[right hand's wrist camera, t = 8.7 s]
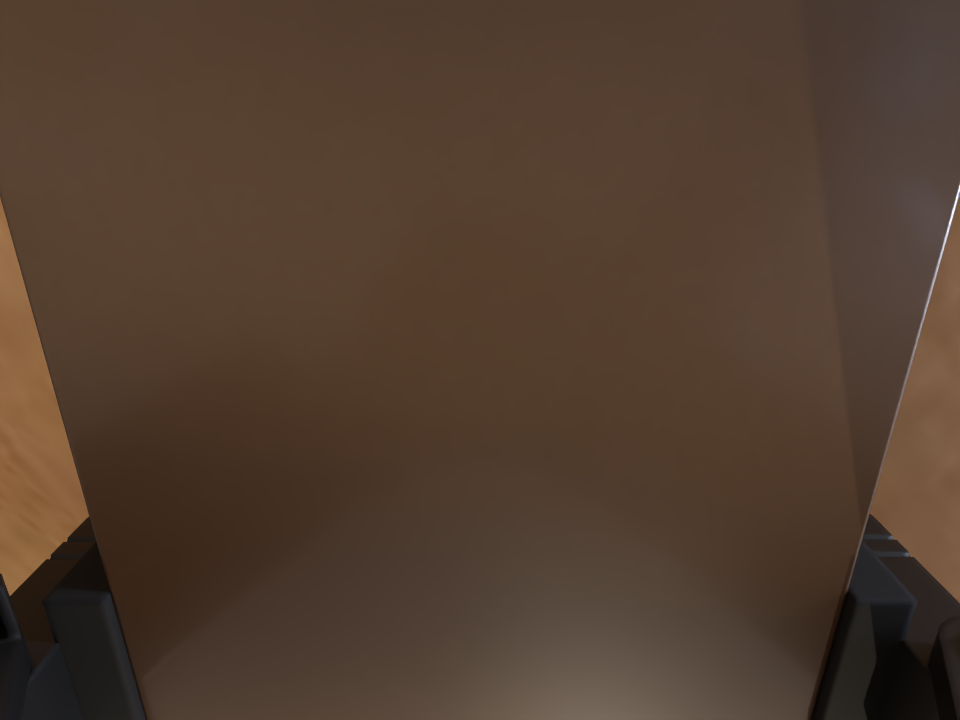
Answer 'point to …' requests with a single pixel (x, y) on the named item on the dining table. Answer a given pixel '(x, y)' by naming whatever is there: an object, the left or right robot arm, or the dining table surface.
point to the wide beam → (479, 336)
